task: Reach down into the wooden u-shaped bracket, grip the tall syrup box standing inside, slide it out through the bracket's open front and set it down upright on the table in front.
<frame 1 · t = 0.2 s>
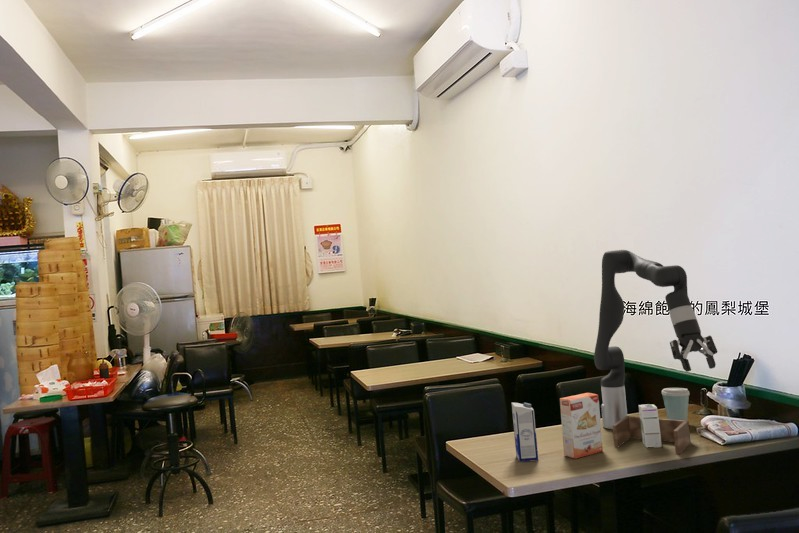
hand: (700, 369, 188), 31 cm above the table, tool tilted 20°, fingers open, 8 cm apart
milk carton: (527, 458, 211), on the table
wooden u-shaped bracket: (651, 445, 214), on the table
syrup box: (652, 445, 214), on the table
cracker box: (584, 454, 210), on the table
disposable coffee cup: (678, 425, 237), on the table
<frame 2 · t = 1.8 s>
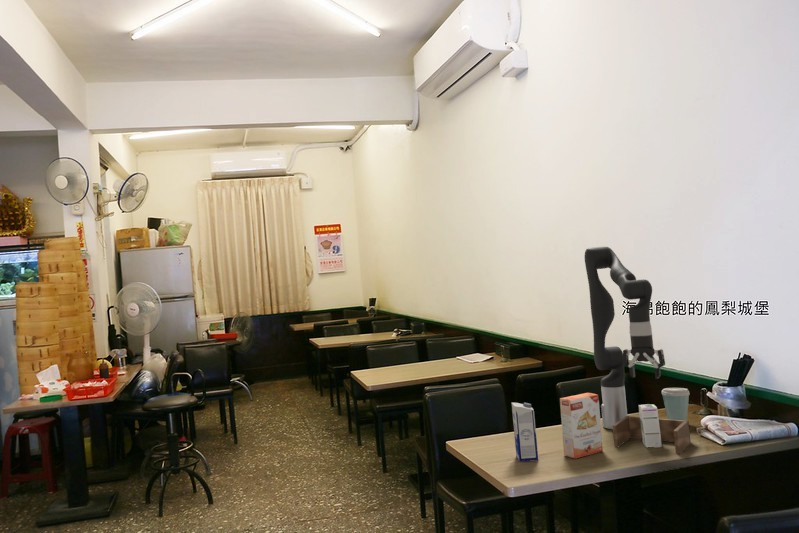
hand: (645, 377, 214), 25 cm above the table, tool pointing down, fingers open, 8 cm apart
nothing on the table moved.
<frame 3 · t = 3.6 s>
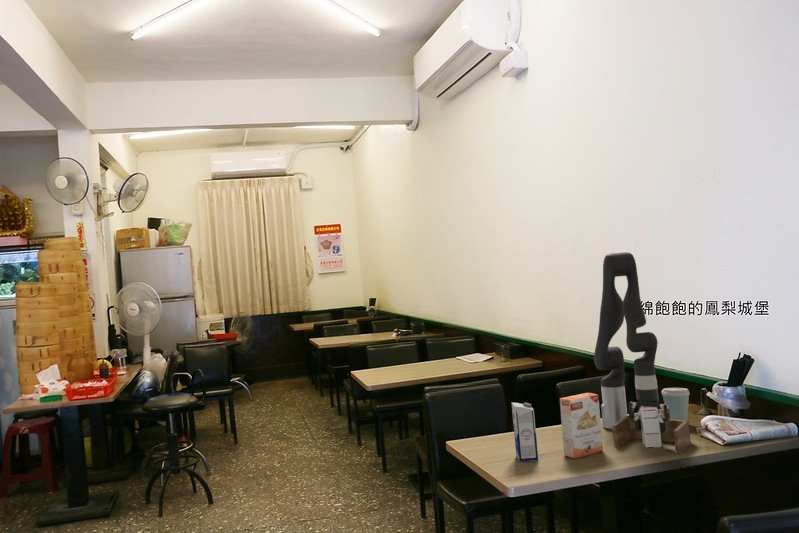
hand: (650, 431, 214), 5 cm above the table, tool pointing down, fingers closed on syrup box, 7 cm apart
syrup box: (652, 445, 214), on the table, touching gripper
everything else where it was.
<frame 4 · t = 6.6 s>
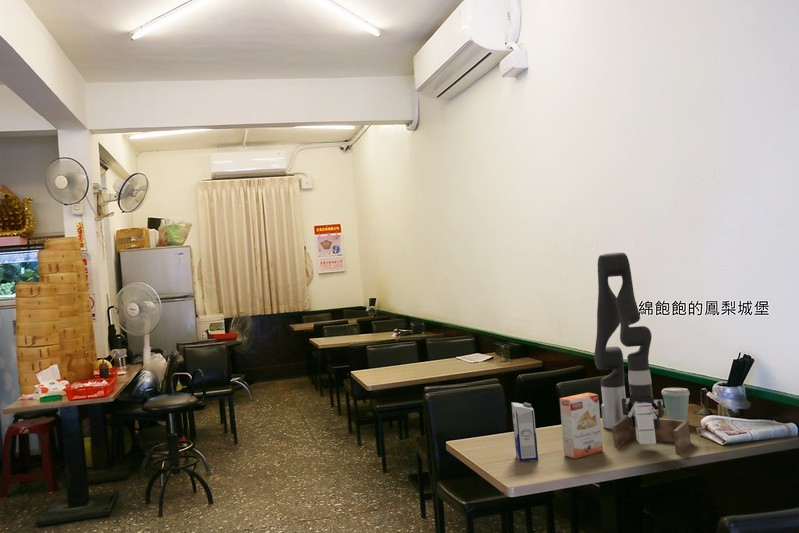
hand: (644, 428, 208), 8 cm above the table, tool pointing down, fingers closed on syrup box, 7 cm apart
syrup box: (646, 442, 208), point 3 cm above the table, touching gripper
everything else where it was.
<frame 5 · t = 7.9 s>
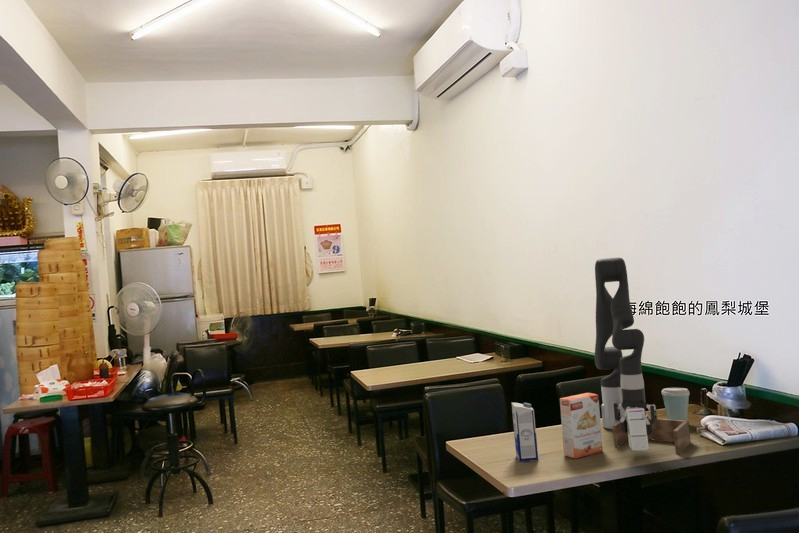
hand: (637, 433, 203), 8 cm above the table, tool pointing down, fingers closed on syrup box, 7 cm apart
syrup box: (638, 448, 202), point 3 cm above the table, touching gripper
everything else where it was.
when the fingers open (6 cm above the table, at t = 9.1 s): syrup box drops 1 cm, on the table.
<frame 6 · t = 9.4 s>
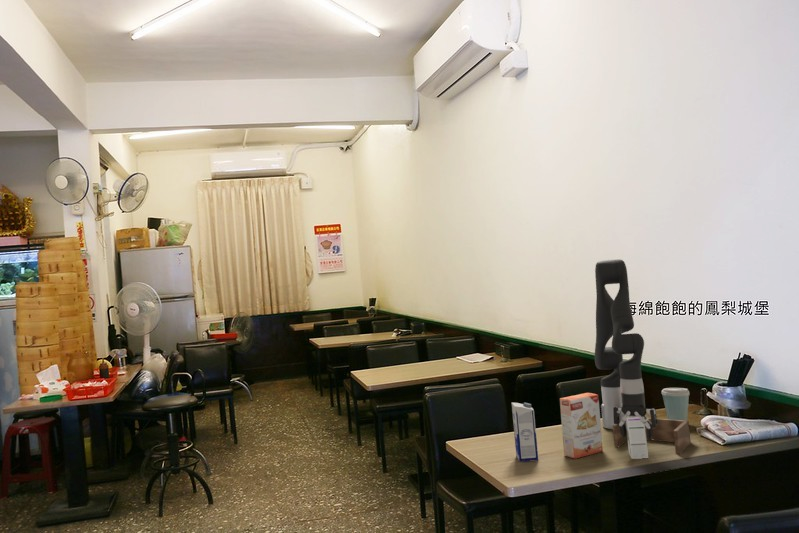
hand: (636, 437, 202), 7 cm above the table, tool pointing down, fingers open, 8 cm apart
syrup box: (638, 457, 202), on the table
everything else where it was.
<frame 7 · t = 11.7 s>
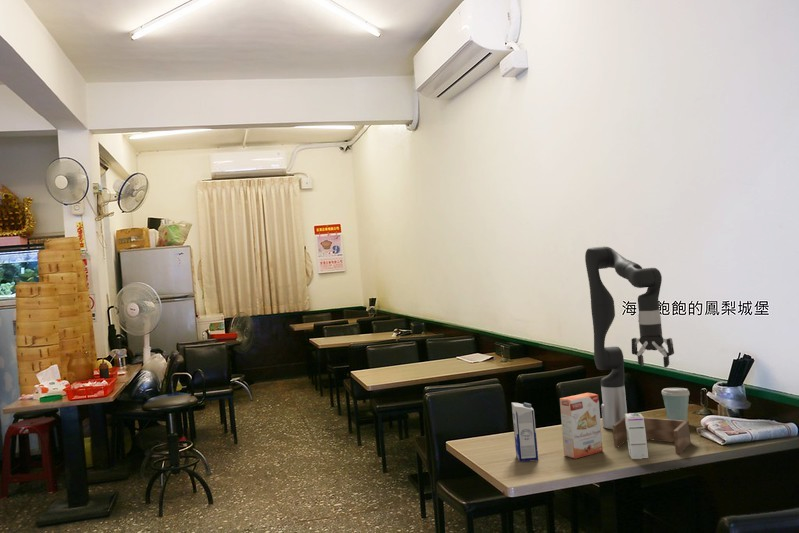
hand: (653, 366, 213), 29 cm above the table, tool pointing down, fingers open, 8 cm apart
nothing on the table moved.
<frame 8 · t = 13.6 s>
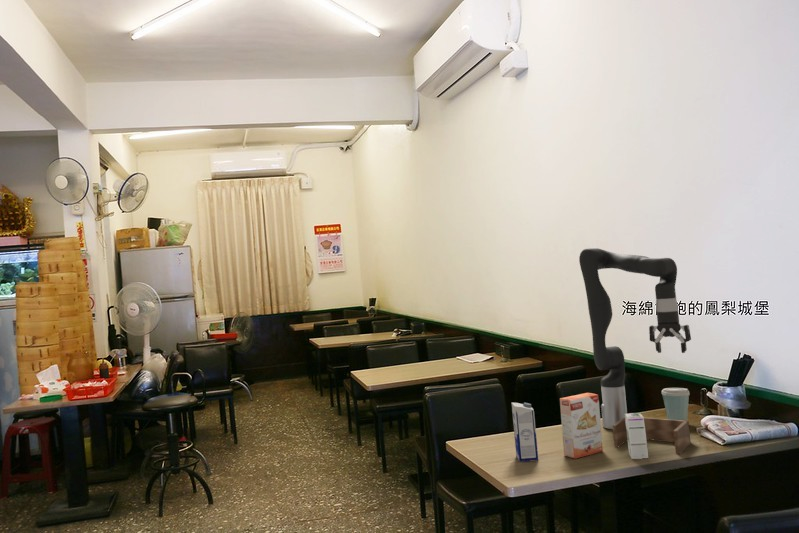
hand: (671, 352, 221), 32 cm above the table, tool pointing down, fingers open, 8 cm apart
nothing on the table moved.
at the end: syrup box inside the target area (0.7 cm from its centre), on the table; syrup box tilted 0°; the gripper is holding nothing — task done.
